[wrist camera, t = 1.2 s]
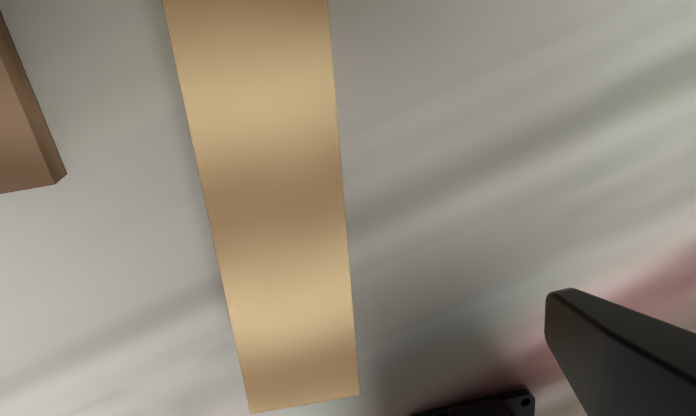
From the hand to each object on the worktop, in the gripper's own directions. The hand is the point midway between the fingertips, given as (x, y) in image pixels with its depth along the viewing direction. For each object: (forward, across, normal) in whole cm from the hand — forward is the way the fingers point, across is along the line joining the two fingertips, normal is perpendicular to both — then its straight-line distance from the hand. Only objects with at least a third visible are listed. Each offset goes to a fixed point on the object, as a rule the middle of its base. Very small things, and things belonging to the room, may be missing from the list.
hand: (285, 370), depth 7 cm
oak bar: (+11, 0, 0) cm, 11 cm away
